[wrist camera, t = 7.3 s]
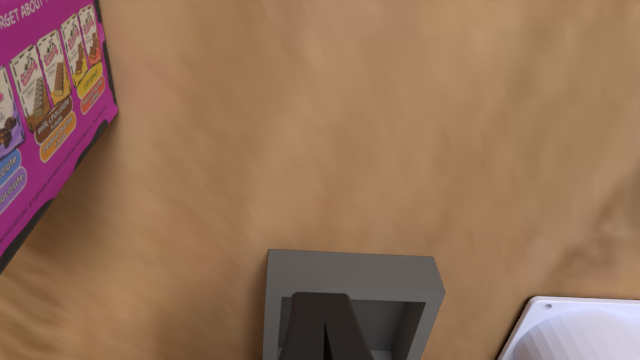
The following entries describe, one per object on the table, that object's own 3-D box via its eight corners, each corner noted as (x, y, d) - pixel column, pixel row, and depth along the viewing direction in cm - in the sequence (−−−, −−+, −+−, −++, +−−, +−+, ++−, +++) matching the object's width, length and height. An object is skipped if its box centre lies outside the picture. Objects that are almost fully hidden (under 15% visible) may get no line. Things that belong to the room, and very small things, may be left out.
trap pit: (433, 256, 25) (445, 292, 23) (400, 355, 30) (408, 391, 28) (268, 249, 24) (266, 284, 22) (263, 352, 29) (261, 388, 27)
